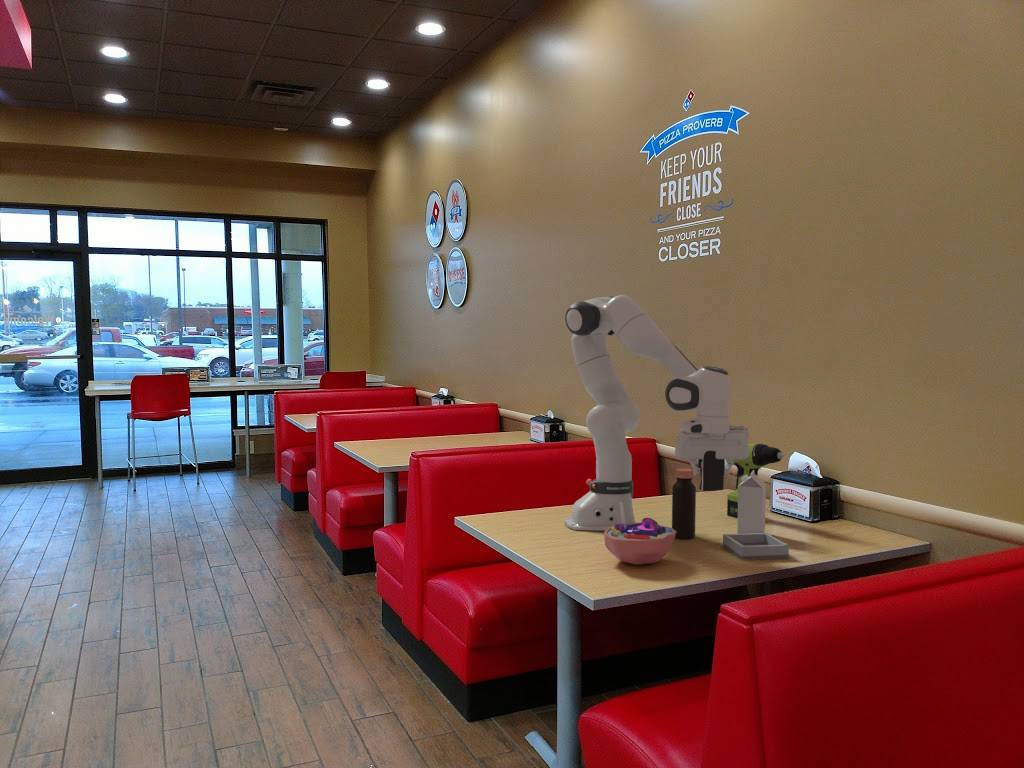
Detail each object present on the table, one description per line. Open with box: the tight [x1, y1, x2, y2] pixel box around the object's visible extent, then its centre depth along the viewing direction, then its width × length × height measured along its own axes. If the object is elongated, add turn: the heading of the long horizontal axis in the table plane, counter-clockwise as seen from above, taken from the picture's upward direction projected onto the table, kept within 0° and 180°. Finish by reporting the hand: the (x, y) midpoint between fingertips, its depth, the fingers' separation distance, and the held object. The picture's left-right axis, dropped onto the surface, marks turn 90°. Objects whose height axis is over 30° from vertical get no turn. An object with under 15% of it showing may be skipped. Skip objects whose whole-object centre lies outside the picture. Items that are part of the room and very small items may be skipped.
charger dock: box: [722, 532, 790, 561], centre depth 206 cm, size 13×13×4 cm
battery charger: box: [697, 451, 726, 492], centre depth 208 cm, size 7×4×11 cm, turn 111°
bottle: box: [671, 468, 697, 540], centre depth 222 cm, size 7×7×20 cm
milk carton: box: [736, 470, 767, 534], centre depth 224 cm, size 7×7×19 cm
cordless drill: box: [725, 443, 787, 519], centre depth 242 cm, size 23×7×25 cm, turn 28°
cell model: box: [603, 517, 676, 566], centre depth 197 cm, size 17×20×11 cm
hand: (711, 475), depth 208 cm, fingers closed on battery charger, 7 cm apart
